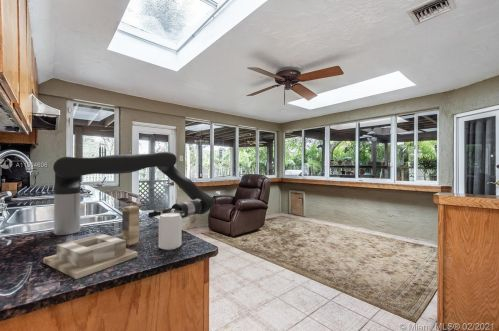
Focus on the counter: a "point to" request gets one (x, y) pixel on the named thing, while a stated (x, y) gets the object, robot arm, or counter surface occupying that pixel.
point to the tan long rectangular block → (130, 224)
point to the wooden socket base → (89, 255)
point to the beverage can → (170, 231)
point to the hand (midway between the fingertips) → (155, 216)
